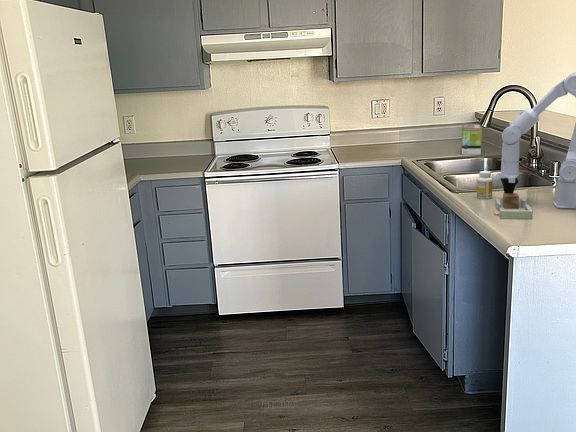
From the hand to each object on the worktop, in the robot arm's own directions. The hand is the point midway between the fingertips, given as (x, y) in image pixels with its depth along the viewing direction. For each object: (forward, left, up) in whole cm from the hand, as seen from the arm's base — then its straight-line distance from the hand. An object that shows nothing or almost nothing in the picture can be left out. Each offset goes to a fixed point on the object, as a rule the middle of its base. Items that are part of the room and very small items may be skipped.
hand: (508, 198), depth 200 cm
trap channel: (0, +12, -1) cm, 12 cm away
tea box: (+7, -110, -2) cm, 111 cm away
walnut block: (0, +7, -2) cm, 7 cm away
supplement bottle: (+8, -7, -2) cm, 11 cm away
